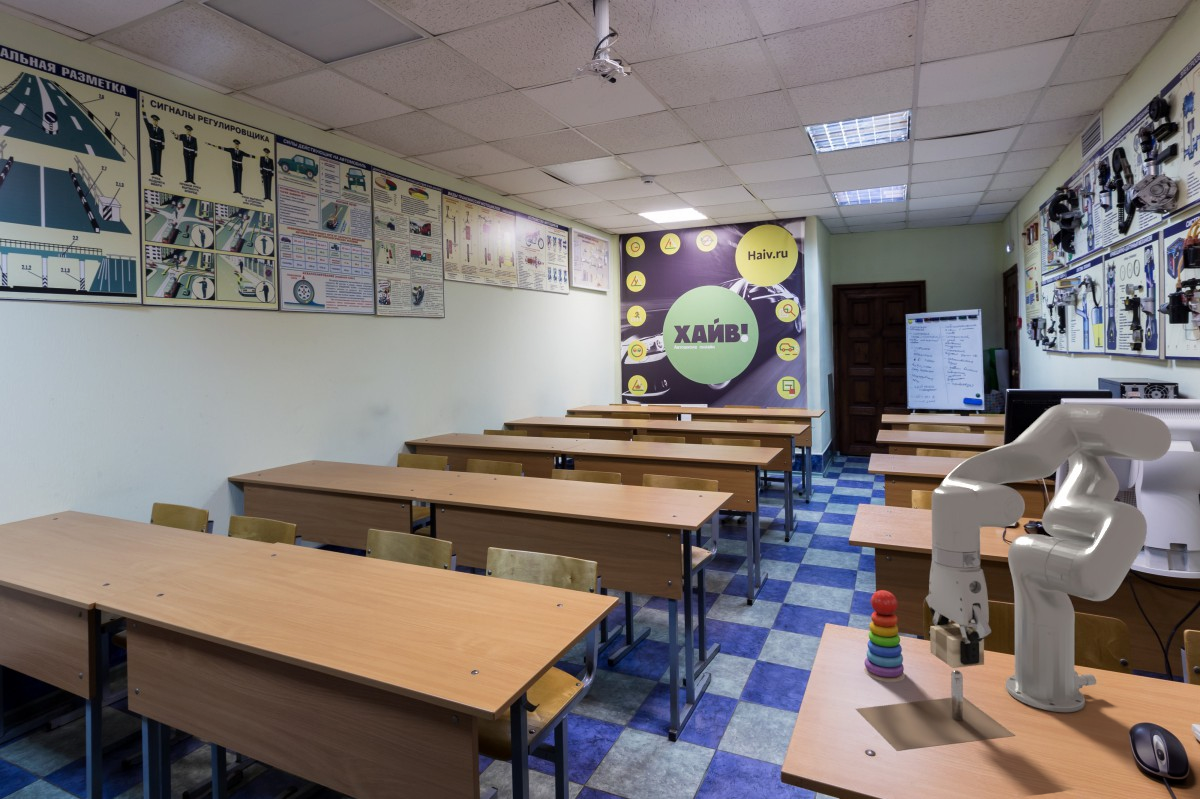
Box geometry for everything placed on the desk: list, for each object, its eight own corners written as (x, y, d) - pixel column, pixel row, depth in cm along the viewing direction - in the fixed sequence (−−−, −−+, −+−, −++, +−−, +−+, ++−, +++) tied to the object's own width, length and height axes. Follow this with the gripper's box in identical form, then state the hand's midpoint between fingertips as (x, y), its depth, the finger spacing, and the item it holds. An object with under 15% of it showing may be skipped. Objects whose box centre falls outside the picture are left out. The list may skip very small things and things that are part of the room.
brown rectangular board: (962, 703, 121) (962, 696, 121) (1015, 743, 108) (1015, 735, 108) (855, 716, 118) (855, 708, 118) (896, 759, 105) (896, 750, 105)
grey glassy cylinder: (958, 715, 115) (957, 667, 114) (965, 720, 113) (964, 672, 112) (949, 716, 114) (948, 668, 114) (956, 721, 113) (955, 673, 112)
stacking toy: (910, 690, 126) (909, 599, 125) (868, 687, 128) (866, 598, 127) (900, 671, 134) (898, 585, 133) (860, 669, 136) (858, 584, 135)
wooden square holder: (960, 649, 116) (959, 623, 116) (984, 664, 110) (983, 636, 110) (930, 652, 116) (930, 626, 115) (952, 668, 110) (952, 640, 109)
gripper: (1012, 570, 104) (1012, 675, 105) (942, 541, 121) (943, 632, 122) (971, 573, 103) (971, 680, 104) (906, 544, 120) (907, 636, 121)
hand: (956, 653), depth 113 cm, fingers closed on wooden square holder, 5 cm apart
